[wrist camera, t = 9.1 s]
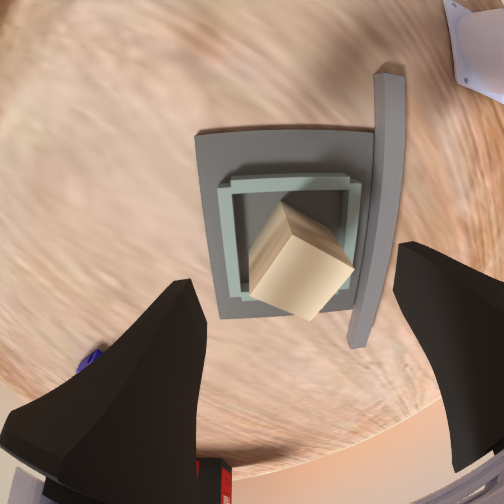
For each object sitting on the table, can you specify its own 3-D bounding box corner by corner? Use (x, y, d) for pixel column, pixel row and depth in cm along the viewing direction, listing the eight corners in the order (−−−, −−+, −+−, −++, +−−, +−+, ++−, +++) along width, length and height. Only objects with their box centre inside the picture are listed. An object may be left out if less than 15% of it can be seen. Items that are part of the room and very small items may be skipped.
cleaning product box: (221, 458, 42) (219, 542, 24) (231, 467, 46) (231, 540, 28) (148, 453, 43) (138, 528, 25) (165, 464, 47) (158, 531, 30)
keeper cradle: (371, 132, 15) (381, 134, 13) (351, 306, 22) (356, 317, 20) (195, 135, 15) (190, 137, 14) (220, 315, 22) (218, 328, 20)
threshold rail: (393, 78, 13) (404, 76, 12) (360, 335, 24) (365, 346, 22) (373, 74, 13) (384, 72, 12) (346, 337, 24) (350, 349, 22)
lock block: (330, 229, 18) (354, 269, 13) (297, 273, 19) (310, 320, 15) (279, 200, 17) (291, 234, 12) (248, 249, 18) (249, 295, 14)
